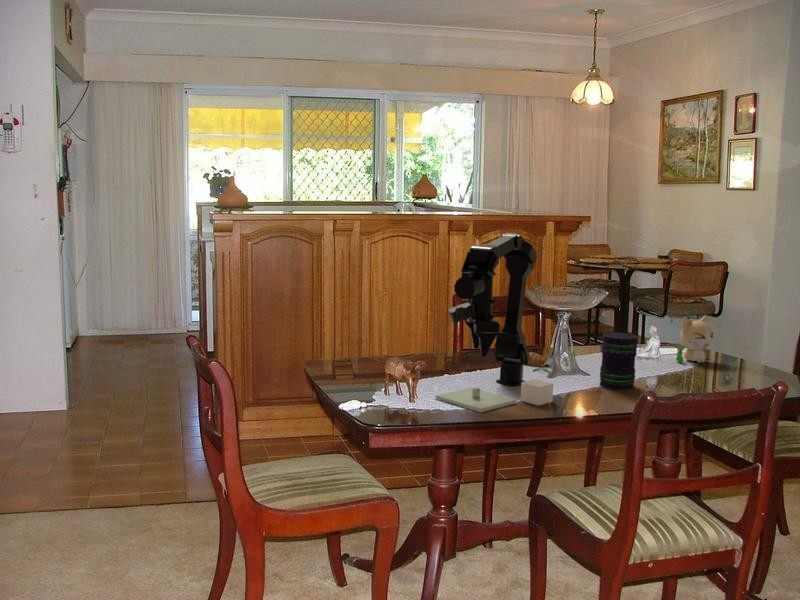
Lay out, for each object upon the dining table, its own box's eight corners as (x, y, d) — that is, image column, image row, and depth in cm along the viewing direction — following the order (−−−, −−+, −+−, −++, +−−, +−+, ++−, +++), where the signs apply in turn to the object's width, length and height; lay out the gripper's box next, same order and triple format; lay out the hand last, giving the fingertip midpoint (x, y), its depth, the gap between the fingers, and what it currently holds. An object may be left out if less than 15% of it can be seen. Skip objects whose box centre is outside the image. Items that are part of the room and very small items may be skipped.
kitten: (688, 366, 271) (692, 320, 269) (665, 359, 280) (669, 315, 278) (721, 362, 278) (725, 317, 276) (698, 356, 287) (701, 313, 284)
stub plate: (471, 390, 233) (471, 378, 233) (516, 403, 222) (516, 390, 221) (435, 398, 224) (436, 386, 224) (480, 412, 212) (481, 399, 212)
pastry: (552, 365, 269) (553, 353, 268) (542, 369, 263) (543, 357, 263) (526, 360, 274) (527, 349, 274) (516, 364, 269) (516, 352, 268)
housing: (534, 397, 229) (535, 379, 228) (552, 401, 224) (553, 383, 224) (520, 400, 225) (521, 382, 224) (538, 405, 220) (539, 386, 220)
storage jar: (609, 391, 237) (613, 339, 235) (592, 382, 246) (596, 332, 244) (641, 389, 240) (644, 338, 237) (623, 381, 249) (626, 331, 247)
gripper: (445, 288, 228) (443, 344, 231) (458, 300, 210) (456, 361, 213) (485, 288, 230) (483, 344, 232) (501, 300, 211) (499, 360, 214)
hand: (479, 352), depth 223 cm, fingers open, 9 cm apart
